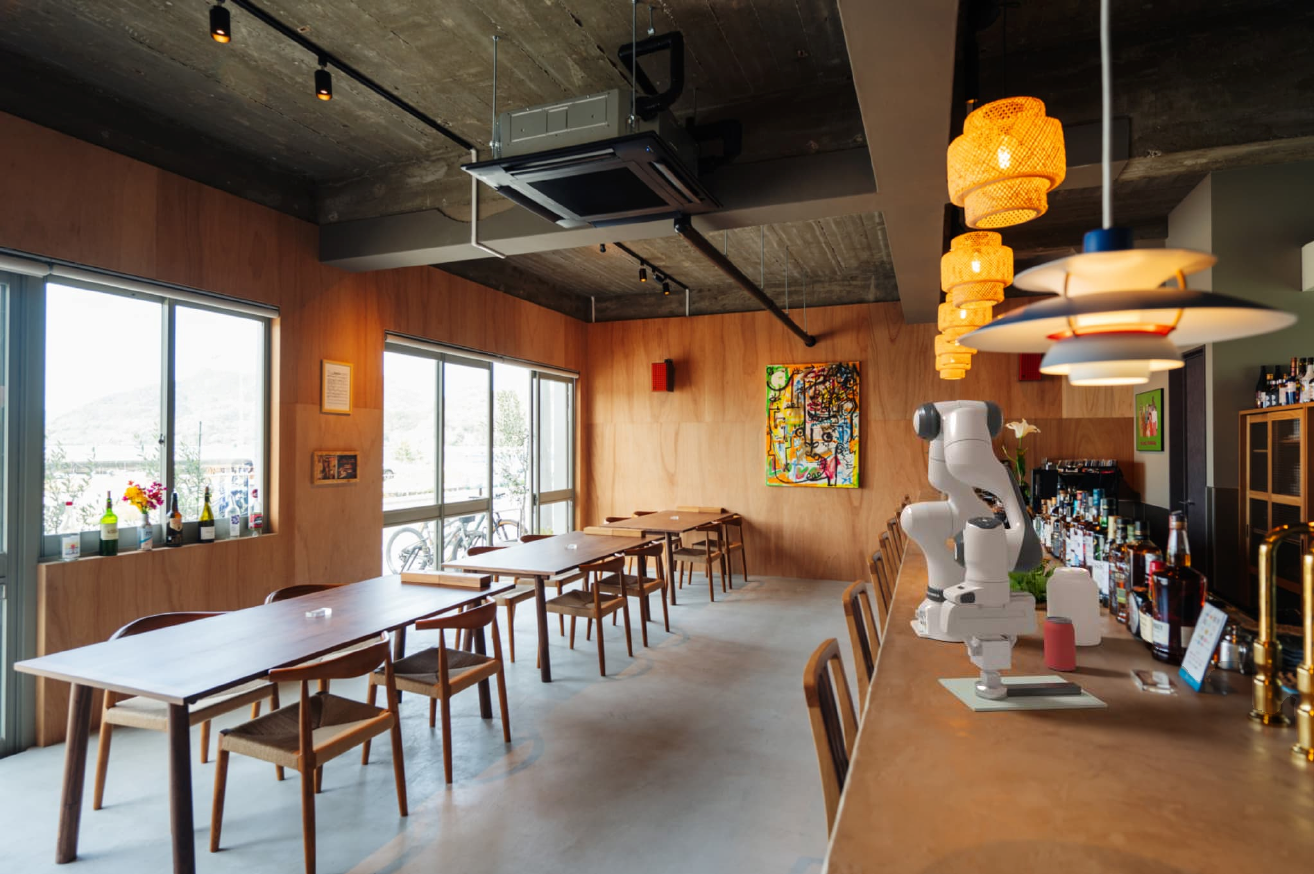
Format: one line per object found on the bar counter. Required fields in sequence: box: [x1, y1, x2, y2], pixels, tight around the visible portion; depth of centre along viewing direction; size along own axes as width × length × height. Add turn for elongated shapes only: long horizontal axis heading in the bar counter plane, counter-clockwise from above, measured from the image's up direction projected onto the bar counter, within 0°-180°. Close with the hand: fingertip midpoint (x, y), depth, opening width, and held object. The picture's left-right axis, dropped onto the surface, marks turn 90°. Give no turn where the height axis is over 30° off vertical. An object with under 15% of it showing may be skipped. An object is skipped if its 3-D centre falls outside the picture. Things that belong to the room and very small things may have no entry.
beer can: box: [1043, 616, 1077, 672], centre depth 167 cm, size 7×7×12 cm
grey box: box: [969, 635, 1012, 670], centre depth 149 cm, size 6×6×6 cm
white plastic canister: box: [1046, 566, 1102, 647], centre depth 190 cm, size 12×12×20 cm
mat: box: [938, 675, 1109, 712], centre depth 151 cm, size 18×28×1 cm, turn 90°
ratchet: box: [975, 668, 1082, 701], centre depth 149 cm, size 6×22×5 cm, turn 90°
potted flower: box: [1007, 556, 1061, 609], centre depth 230 cm, size 25×24×18 cm
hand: (989, 655), depth 149 cm, fingers closed on grey box, 6 cm apart
